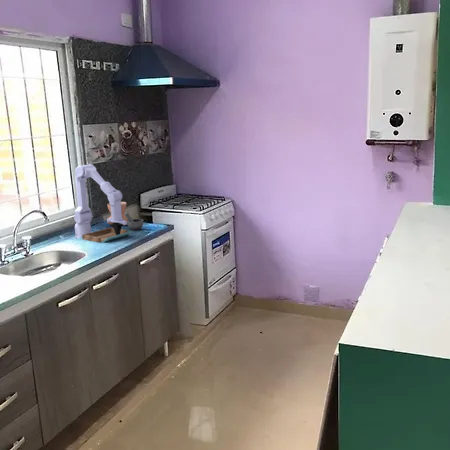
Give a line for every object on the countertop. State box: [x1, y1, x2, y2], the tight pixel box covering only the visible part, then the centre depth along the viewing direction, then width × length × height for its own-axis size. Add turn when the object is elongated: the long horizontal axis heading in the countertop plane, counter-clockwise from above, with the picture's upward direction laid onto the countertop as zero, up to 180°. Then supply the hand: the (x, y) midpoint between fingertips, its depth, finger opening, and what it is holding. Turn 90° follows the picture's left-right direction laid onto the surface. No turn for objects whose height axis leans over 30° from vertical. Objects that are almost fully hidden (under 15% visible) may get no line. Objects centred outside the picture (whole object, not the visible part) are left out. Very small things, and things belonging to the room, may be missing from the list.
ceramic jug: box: [107, 201, 128, 226], centre depth 345 cm, size 18×14×14 cm
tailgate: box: [101, 230, 133, 243], centre depth 303 cm, size 1×18×6 cm
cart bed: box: [81, 227, 128, 244], centre depth 310 cm, size 15×21×4 cm
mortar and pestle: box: [124, 212, 144, 231], centre depth 325 cm, size 11×9×12 cm
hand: (118, 235), depth 302 cm, fingers closed, pressing on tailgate
